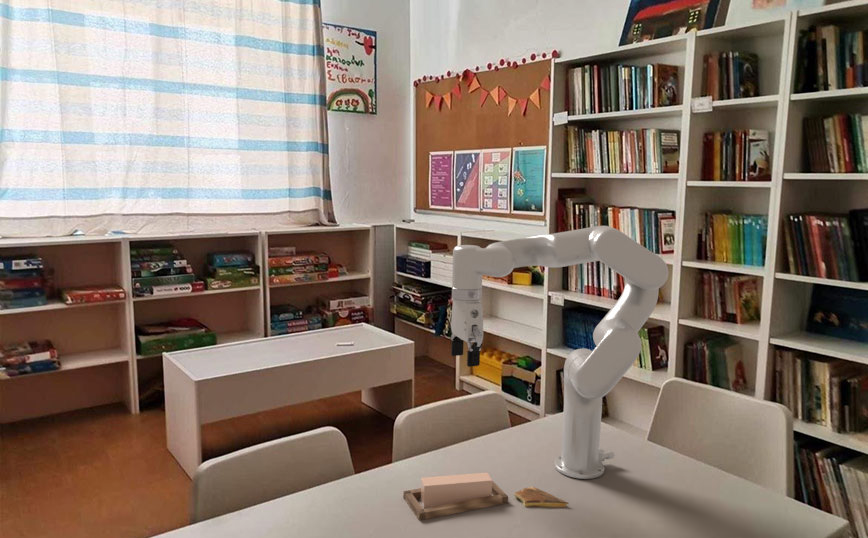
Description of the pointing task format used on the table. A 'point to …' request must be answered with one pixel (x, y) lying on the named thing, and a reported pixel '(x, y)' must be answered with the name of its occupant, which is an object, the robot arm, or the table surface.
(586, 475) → the robot arm
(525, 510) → the table surface
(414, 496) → the brown wooden frame
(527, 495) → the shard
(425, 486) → the pink rectangular block
